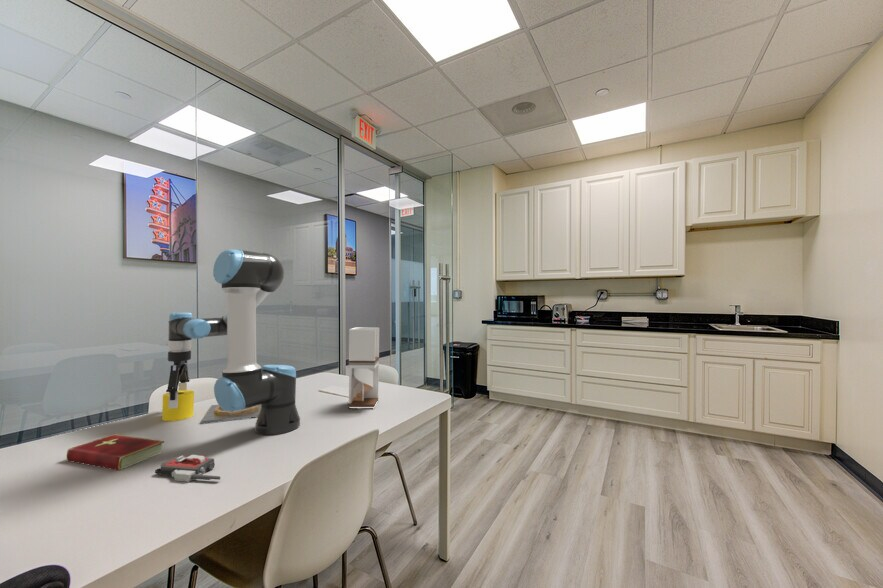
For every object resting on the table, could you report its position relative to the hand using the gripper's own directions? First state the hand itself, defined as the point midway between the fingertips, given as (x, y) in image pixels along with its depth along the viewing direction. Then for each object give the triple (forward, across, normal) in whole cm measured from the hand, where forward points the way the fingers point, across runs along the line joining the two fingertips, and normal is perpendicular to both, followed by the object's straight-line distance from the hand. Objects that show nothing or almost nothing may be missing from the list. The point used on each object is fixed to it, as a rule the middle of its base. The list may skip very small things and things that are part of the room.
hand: (178, 403), depth 140 cm
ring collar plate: (+5, +2, +21) cm, 22 cm away
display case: (+5, +13, +72) cm, 74 cm away
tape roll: (+6, 0, 0) cm, 6 cm away
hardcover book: (+6, +36, -7) cm, 37 cm away
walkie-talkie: (+5, +57, +17) cm, 60 cm away
